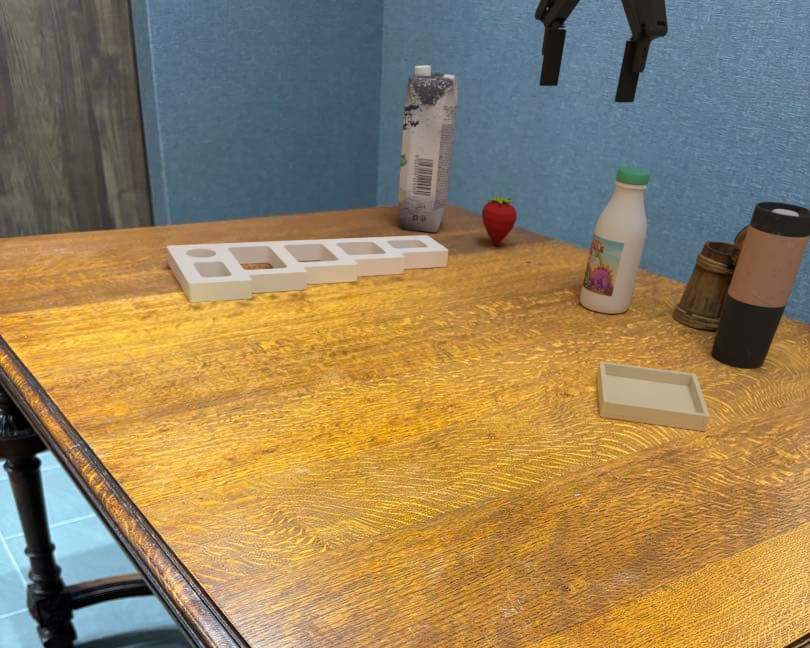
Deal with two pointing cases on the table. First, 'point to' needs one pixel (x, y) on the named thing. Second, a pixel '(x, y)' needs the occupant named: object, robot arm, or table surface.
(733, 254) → the wooden mug
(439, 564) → the table surface
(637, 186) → the milk bottle
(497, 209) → the strawberry
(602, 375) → the cream tray
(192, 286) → the holder
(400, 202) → the juice carton
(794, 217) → the travel mug
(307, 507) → the table surface
